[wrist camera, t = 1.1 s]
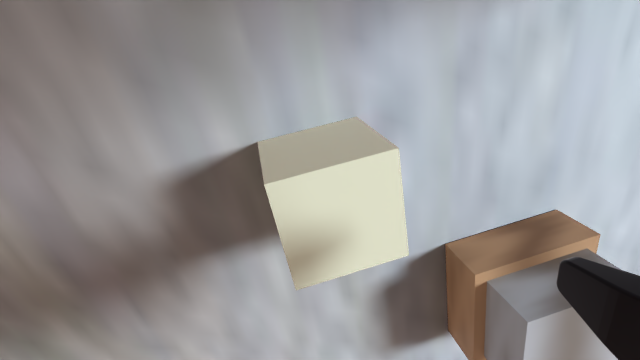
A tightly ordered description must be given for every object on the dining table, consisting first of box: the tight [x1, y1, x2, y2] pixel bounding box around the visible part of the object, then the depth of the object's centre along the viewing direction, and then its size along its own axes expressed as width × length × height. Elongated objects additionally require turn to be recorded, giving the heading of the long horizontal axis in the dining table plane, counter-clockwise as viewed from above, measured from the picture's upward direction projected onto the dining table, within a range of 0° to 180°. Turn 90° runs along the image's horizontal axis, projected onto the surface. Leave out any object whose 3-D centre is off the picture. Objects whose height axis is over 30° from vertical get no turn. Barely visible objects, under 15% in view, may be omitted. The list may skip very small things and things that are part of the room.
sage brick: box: [257, 117, 409, 290], centre depth 15 cm, size 5×5×5 cm
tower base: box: [445, 210, 621, 360], centre depth 21 cm, size 8×8×6 cm
